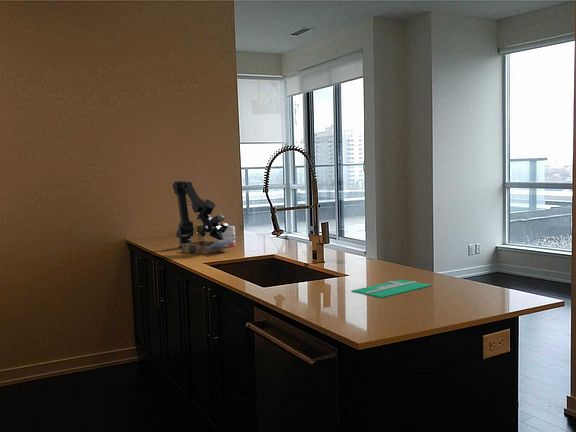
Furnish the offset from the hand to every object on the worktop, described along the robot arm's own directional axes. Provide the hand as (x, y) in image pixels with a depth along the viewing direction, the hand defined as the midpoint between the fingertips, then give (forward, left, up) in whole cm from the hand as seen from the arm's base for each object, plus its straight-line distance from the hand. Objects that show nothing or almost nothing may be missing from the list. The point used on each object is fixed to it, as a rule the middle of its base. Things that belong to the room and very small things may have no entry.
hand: (222, 240), depth 324 cm
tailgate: (-6, 0, -5) cm, 8 cm away
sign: (+123, -45, -7) cm, 131 cm away
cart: (-15, 0, -7) cm, 17 cm away
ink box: (-14, +20, -7) cm, 26 cm away
